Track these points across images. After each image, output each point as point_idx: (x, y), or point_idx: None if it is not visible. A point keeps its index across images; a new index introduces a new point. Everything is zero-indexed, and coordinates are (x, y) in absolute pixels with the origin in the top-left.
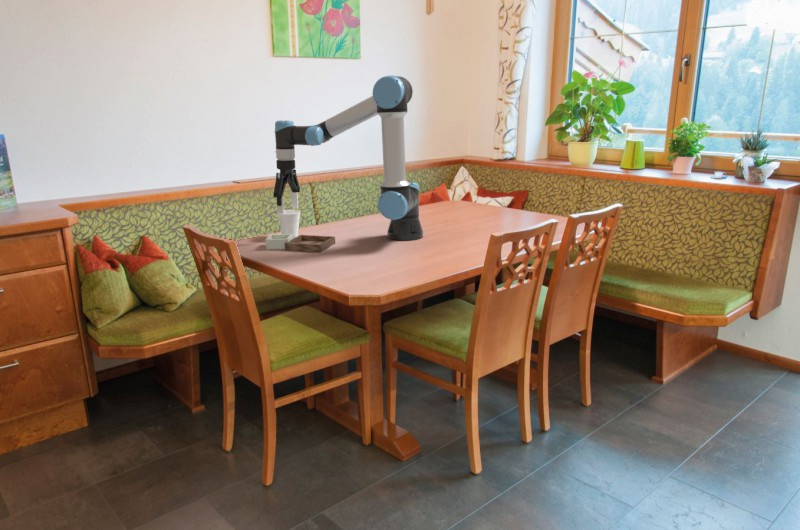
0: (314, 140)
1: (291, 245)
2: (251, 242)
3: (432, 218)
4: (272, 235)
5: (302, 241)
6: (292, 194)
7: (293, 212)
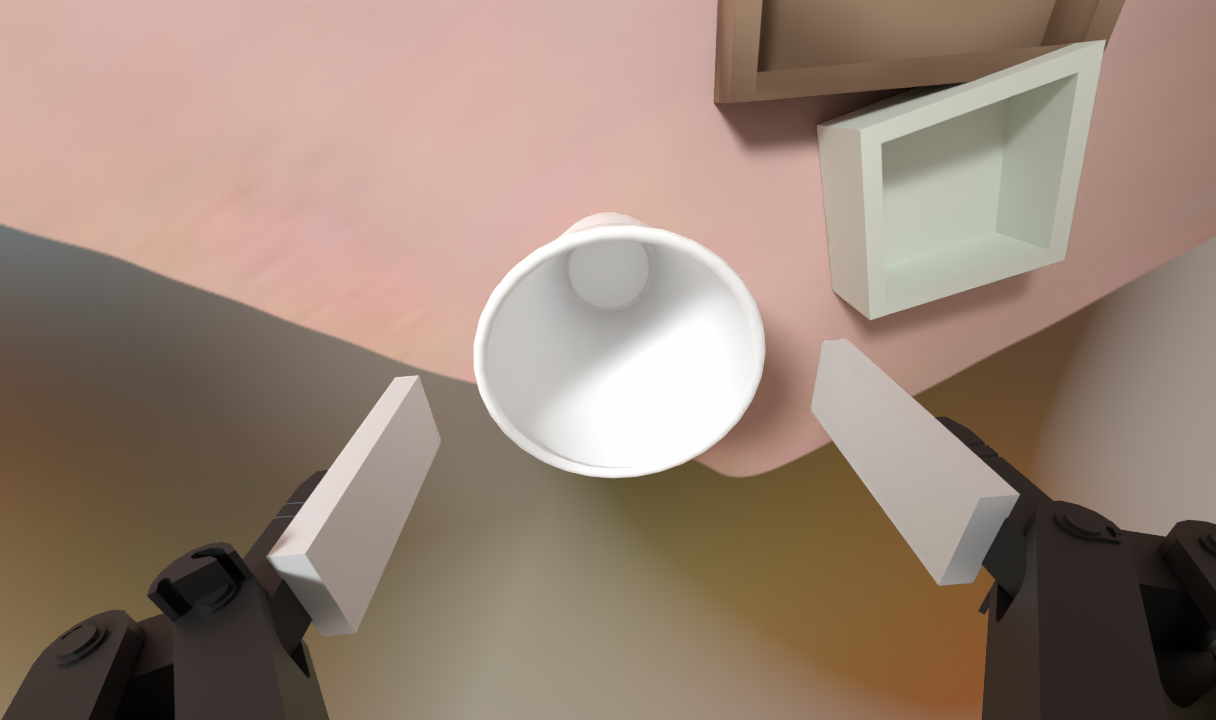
0: None
1: None
2: (795, 417)
3: None
4: (883, 294)
5: (795, 40)
6: (361, 580)
7: (494, 369)
